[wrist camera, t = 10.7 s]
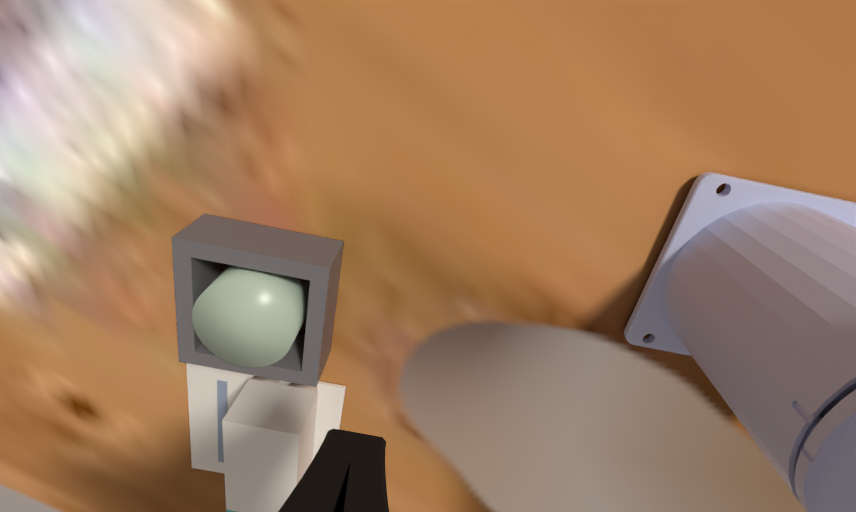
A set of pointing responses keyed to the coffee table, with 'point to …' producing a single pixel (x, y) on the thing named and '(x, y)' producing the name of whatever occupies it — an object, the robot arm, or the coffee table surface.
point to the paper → (214, 399)
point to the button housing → (263, 251)
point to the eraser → (267, 443)
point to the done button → (251, 315)
